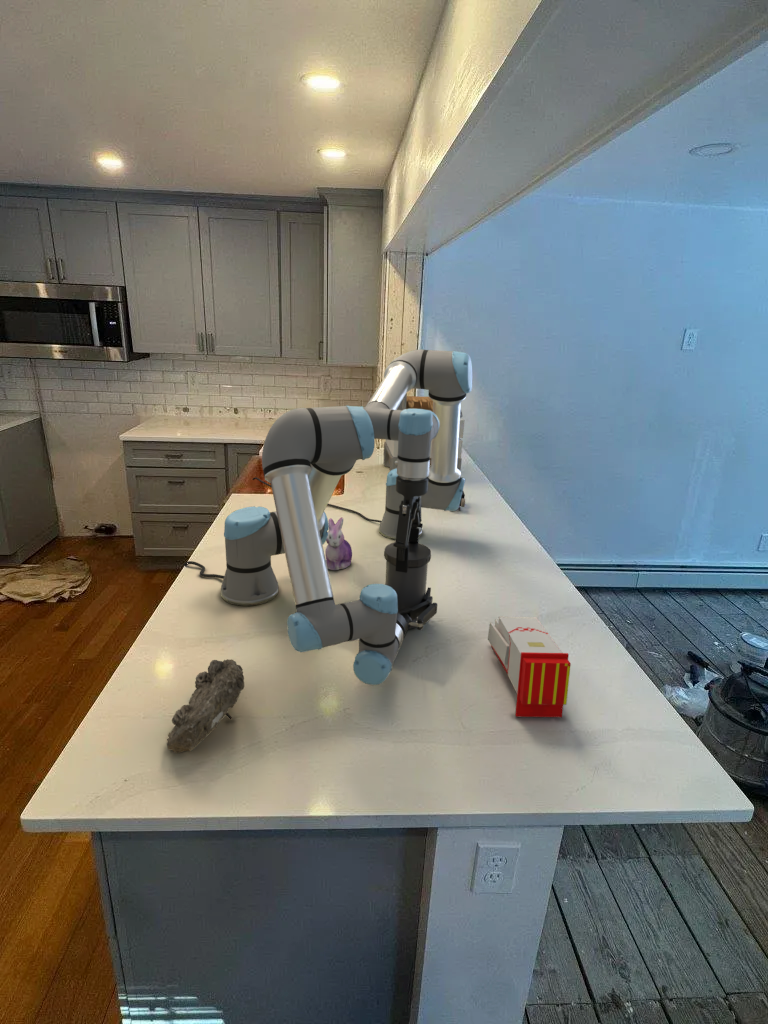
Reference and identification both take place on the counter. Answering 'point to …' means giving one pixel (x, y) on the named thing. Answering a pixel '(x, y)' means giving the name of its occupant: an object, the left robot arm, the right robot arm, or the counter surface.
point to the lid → (409, 554)
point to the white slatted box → (427, 404)
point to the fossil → (206, 705)
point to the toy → (531, 665)
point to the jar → (407, 585)
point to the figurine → (337, 547)
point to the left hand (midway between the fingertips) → (408, 588)
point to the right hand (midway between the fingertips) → (407, 561)
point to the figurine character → (462, 501)
